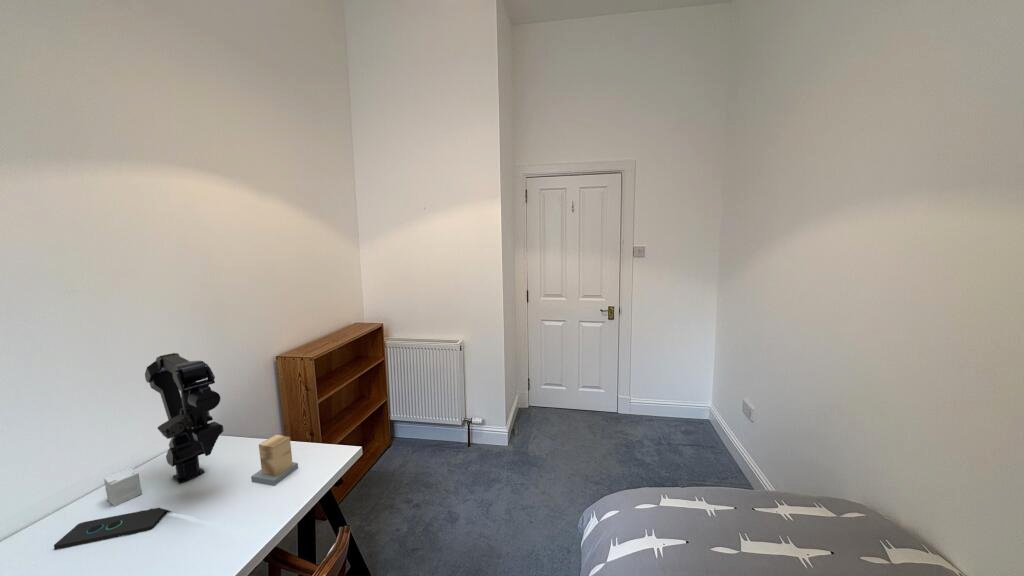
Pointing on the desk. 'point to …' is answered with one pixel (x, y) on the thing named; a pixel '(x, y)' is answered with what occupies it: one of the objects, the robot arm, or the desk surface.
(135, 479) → the skincare box
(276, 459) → the honey oak block
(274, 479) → the slate top slab
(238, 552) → the desk surface
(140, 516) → the smart home device
